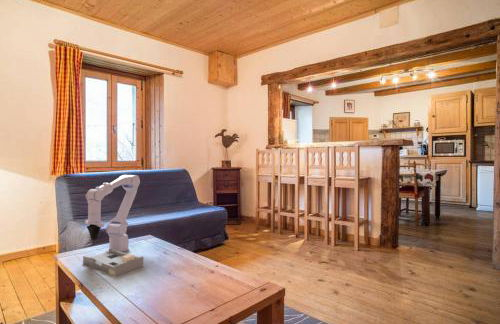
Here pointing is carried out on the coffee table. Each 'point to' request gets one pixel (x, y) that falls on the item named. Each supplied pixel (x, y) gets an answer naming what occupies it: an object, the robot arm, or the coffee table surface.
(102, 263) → the board
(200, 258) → the coffee table surface
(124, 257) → the block
